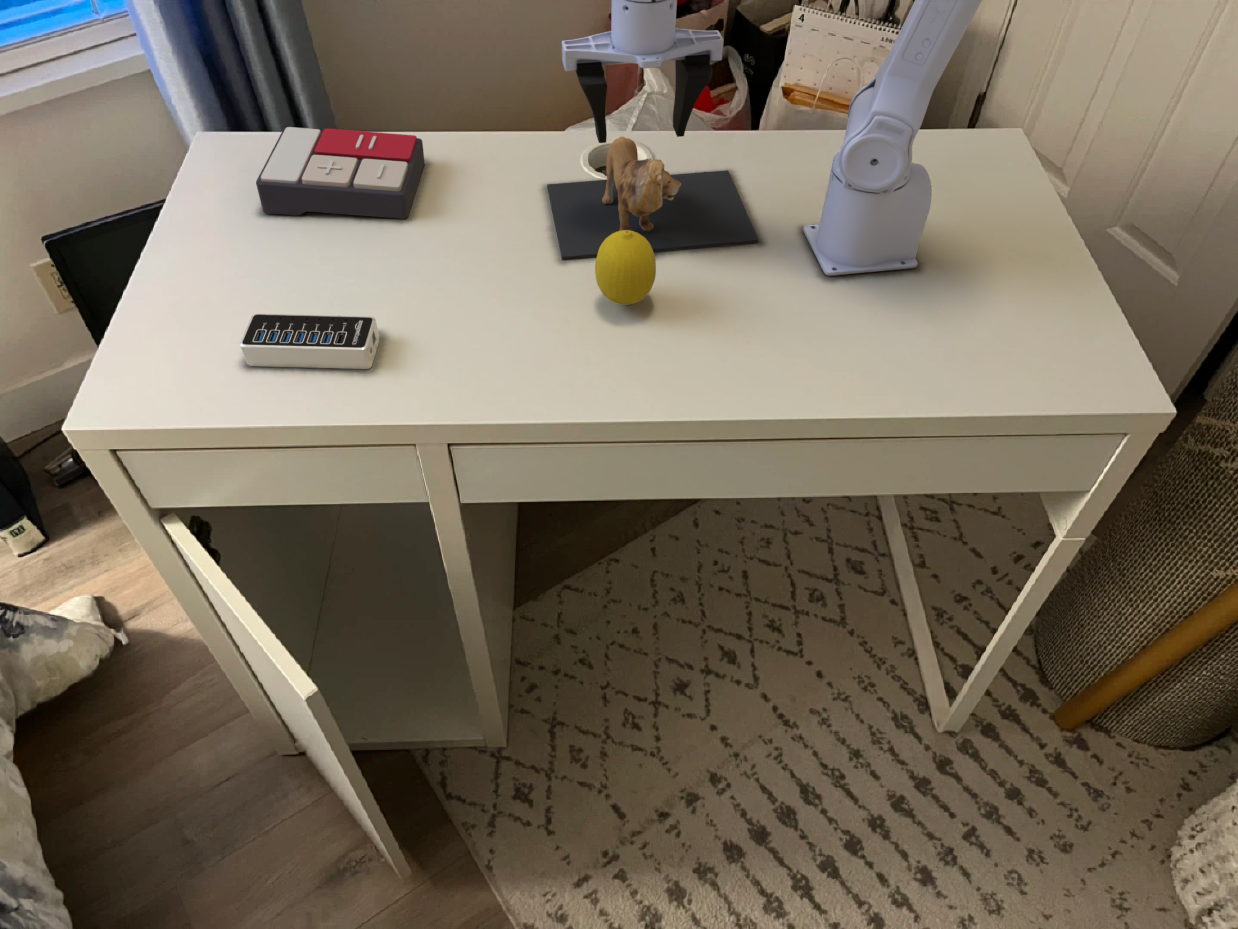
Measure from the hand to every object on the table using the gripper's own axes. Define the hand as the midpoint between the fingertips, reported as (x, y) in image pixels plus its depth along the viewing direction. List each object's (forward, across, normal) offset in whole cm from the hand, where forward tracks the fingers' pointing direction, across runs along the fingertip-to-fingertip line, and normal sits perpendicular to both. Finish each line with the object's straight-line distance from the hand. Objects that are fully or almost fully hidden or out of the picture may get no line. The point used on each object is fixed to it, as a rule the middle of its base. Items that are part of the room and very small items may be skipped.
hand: (639, 134), depth 91 cm
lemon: (+9, -4, -14) cm, 17 cm away
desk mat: (+9, +1, 0) cm, 9 cm away
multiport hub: (+9, -32, -16) cm, 37 cm away
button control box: (+9, -30, +10) cm, 33 cm away
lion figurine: (+9, -1, -1) cm, 9 cm away
